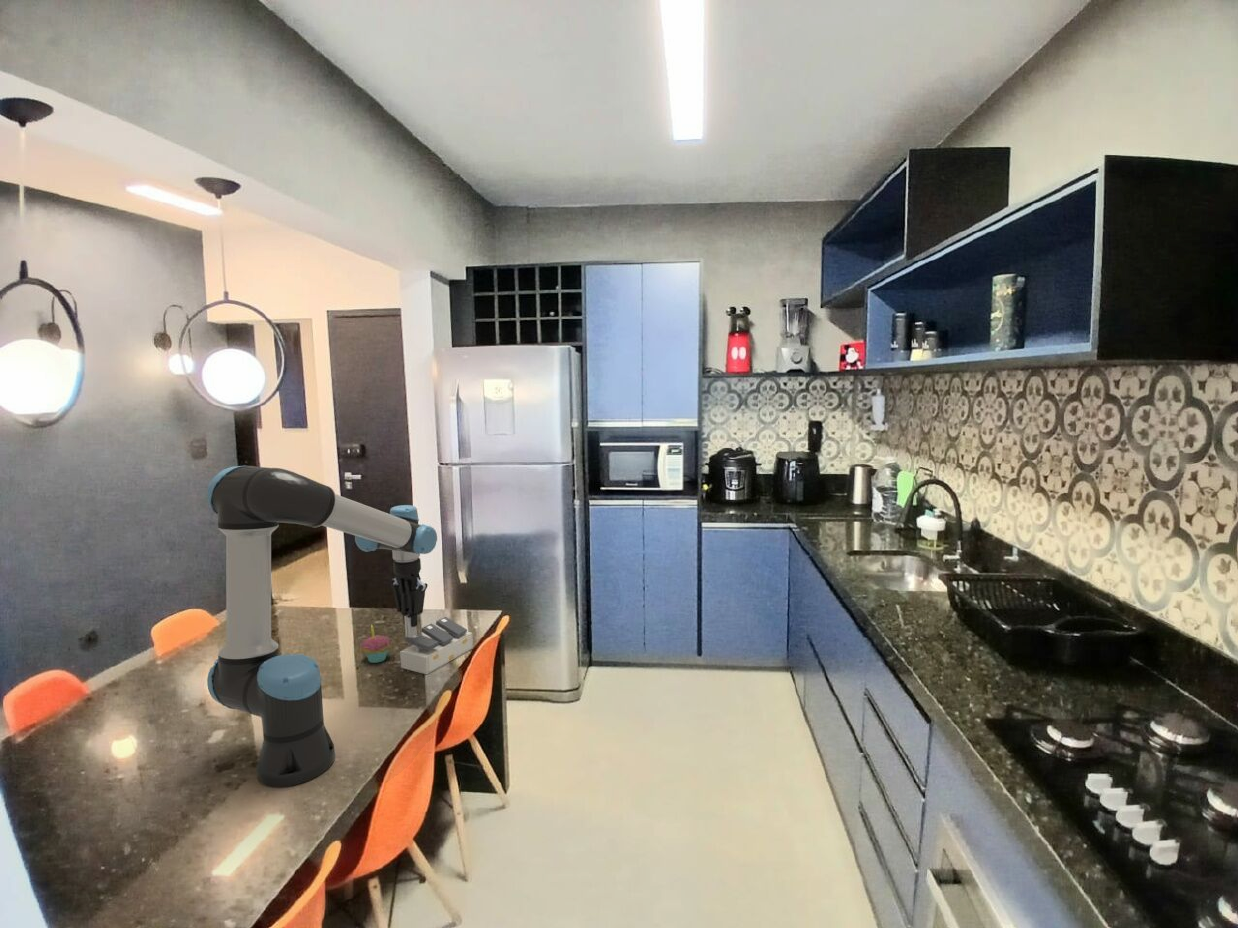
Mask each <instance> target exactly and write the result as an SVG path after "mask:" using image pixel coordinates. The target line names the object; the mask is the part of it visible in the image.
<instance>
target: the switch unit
mask: <svg viewBox="0 0 1238 928" xmlns="http://www.w3.org/2000/svg"><path fill="white" fill-rule="evenodd" d="M442 630H443V631H444V632H446V633H448V634H449V635H451V636H453V640H452V641H450V642H448V643H446V644H445V645H442V644H440V643H439V646H437V647H435V648H433V649H431V650H429V651H428V650H425V649H423V648H420V647H418V646H415V645H413V644H411V645H410V646H408V647H407V648H404V649H403V650H400V651H399V653H400V654H399V655H400V656H399V657H400V668H401V669H405V670H408V671H413V672H416V673H420V674H424V675H428V674H430V673H432V672H434V671H436V670H438V669H439V668H441V667H443V666H445V665H446V664H447V663H449V662H451V661H453V660H455V659H457V658H458V657H460V656H462V655H464V654H465V653H467V652H469V651H471V650H472V649H474V638H473V637H474V636H473V635H474V634H473V632H470V631H467V632H466V633H465V634H463V635H462V636H460V637H458V638H457V637H456V636H454V635H452V634H451V633H449V632H447V631H446V630H444V629H442ZM427 638H430V639H432V638H431V637H429V636H427ZM433 640H434V639H433ZM435 641H436V640H435Z"/></svg>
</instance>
